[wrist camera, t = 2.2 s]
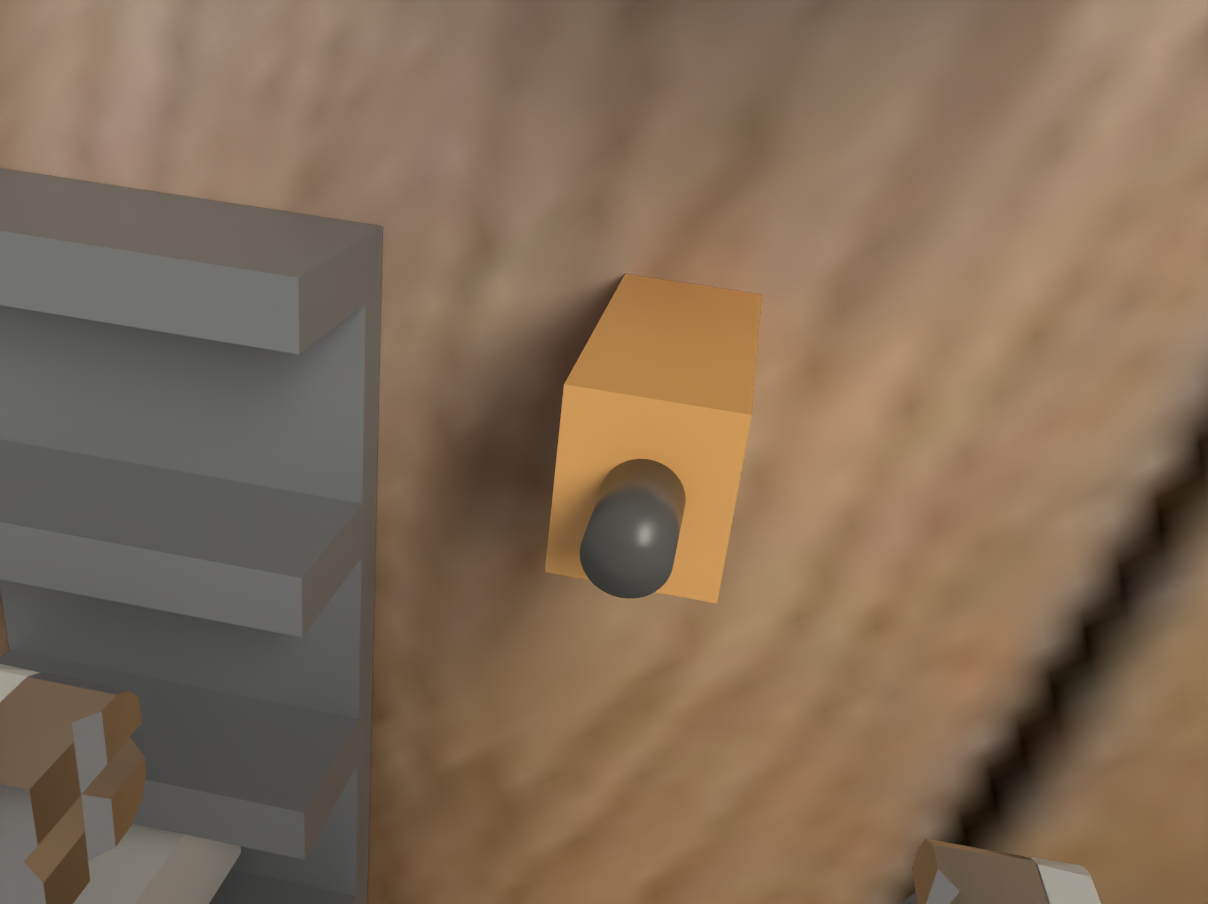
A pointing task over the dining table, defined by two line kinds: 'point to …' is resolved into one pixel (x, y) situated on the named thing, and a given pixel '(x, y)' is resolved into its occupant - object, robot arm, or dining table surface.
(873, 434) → the dining table surface
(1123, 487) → the dining table surface
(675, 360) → the orange plug
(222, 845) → the white plug
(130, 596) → the rack
